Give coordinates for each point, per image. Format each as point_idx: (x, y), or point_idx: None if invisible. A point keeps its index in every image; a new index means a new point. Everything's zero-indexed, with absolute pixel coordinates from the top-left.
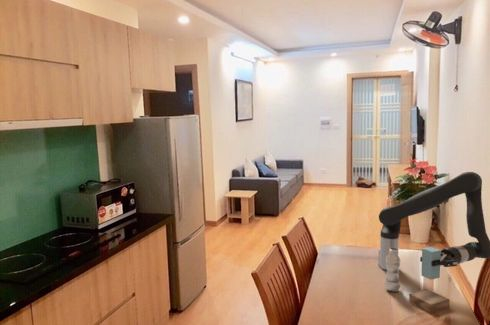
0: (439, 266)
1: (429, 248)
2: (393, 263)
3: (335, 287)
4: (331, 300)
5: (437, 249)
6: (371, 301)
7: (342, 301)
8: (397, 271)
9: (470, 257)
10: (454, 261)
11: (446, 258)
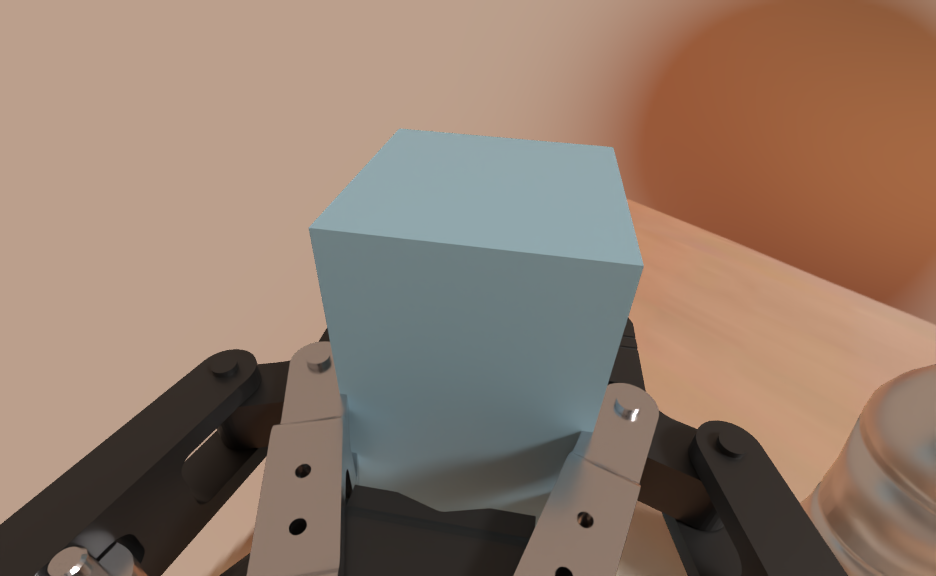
0: (362, 473)
1: (549, 189)
2: (868, 401)
3: (856, 355)
4: (707, 278)
5: (394, 225)
6: (652, 374)
7: (688, 296)
8: (832, 506)
9: None
10: (15, 529)
11: (237, 569)
